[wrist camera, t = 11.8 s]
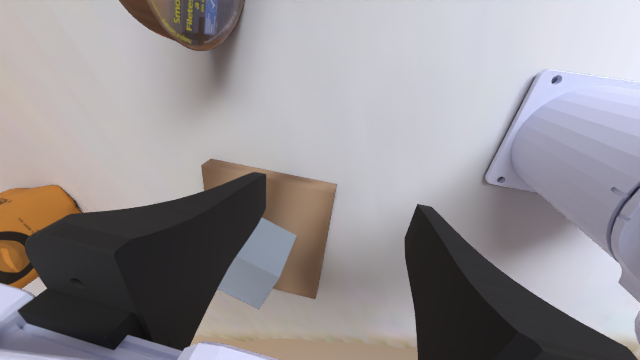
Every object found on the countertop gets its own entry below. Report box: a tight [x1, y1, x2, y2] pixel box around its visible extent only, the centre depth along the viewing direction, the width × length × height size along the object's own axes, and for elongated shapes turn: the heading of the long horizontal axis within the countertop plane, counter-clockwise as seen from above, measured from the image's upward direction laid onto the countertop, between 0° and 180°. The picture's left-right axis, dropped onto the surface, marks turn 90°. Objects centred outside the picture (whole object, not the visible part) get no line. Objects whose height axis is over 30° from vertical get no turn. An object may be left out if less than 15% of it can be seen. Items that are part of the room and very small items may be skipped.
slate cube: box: [218, 218, 297, 309], centre depth 22 cm, size 5×5×5 cm
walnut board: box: [201, 159, 337, 299], centre depth 25 cm, size 12×14×2 cm
